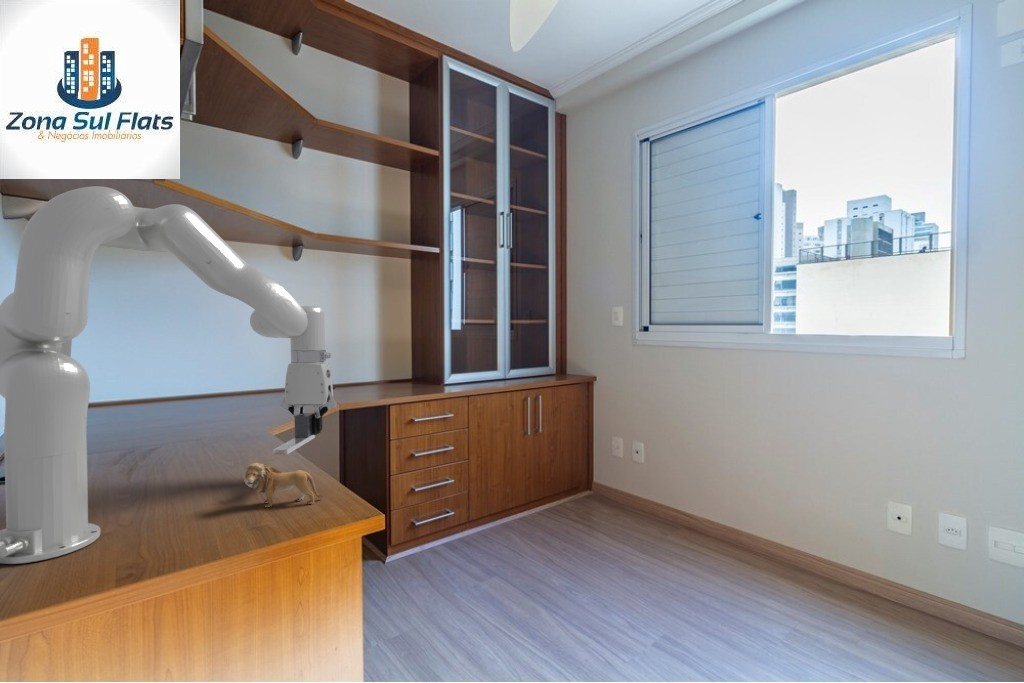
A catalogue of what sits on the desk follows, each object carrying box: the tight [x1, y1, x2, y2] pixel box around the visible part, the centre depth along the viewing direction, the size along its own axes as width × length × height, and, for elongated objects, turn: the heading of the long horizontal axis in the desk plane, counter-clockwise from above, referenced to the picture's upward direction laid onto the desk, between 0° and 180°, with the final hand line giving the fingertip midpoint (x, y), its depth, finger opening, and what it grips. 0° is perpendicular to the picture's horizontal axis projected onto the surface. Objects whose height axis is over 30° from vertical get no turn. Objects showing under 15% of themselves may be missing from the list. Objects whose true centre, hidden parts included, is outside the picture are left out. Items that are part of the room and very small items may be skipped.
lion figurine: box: [243, 462, 324, 507], centre depth 97 cm, size 15×5×9 cm, turn 113°
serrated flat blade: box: [272, 412, 316, 455], centre depth 107 cm, size 14×3×6 cm, turn 0°
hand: (309, 432), depth 114 cm, fingers closed on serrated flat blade, 3 cm apart
